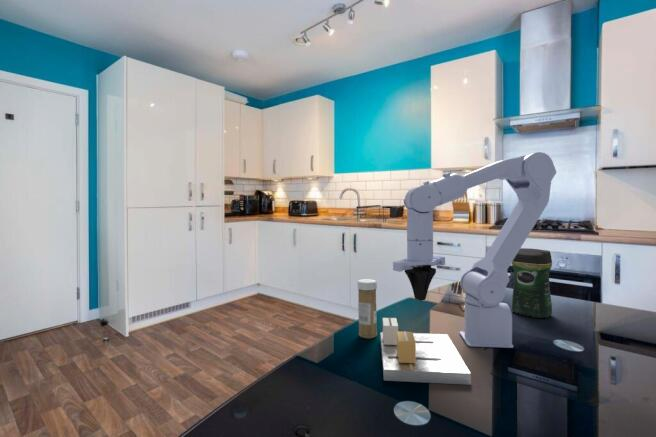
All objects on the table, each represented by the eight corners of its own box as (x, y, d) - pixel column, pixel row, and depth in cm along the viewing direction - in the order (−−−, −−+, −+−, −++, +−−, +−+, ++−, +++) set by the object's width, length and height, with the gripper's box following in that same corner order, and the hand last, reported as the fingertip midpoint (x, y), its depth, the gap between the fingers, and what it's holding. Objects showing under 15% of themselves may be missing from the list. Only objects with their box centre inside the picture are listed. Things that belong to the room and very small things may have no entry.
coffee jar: (555, 315, 96) (556, 249, 95) (544, 321, 91) (545, 251, 90) (519, 307, 103) (519, 246, 102) (507, 312, 98) (507, 248, 97)
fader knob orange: (412, 351, 68) (412, 331, 68) (415, 363, 63) (415, 341, 63) (396, 351, 68) (396, 330, 68) (399, 362, 63) (399, 340, 63)
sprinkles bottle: (381, 336, 82) (380, 280, 81) (366, 340, 79) (365, 283, 79) (368, 330, 86) (368, 277, 85) (354, 334, 83) (353, 279, 83)
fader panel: (447, 343, 77) (447, 333, 77) (470, 384, 60) (470, 372, 59) (380, 340, 79) (380, 331, 79) (383, 380, 61) (383, 368, 61)
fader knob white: (396, 335, 76) (396, 317, 76) (398, 344, 71) (398, 325, 71) (382, 335, 77) (382, 317, 76) (383, 344, 72) (383, 324, 71)
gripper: (409, 243, 70) (409, 309, 71) (456, 239, 78) (455, 298, 78) (386, 240, 76) (386, 301, 77) (431, 236, 84) (431, 291, 84)
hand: (420, 299), depth 78 cm, fingers closed
